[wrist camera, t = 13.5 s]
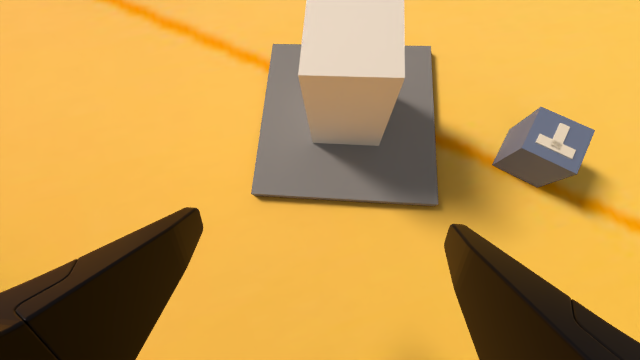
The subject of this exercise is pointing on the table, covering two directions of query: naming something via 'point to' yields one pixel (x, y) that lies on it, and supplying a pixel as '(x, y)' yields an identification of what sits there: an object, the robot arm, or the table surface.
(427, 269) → the table surface
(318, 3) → the white tall block
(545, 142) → the letter cube
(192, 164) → the table surface
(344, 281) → the table surface
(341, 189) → the mat
